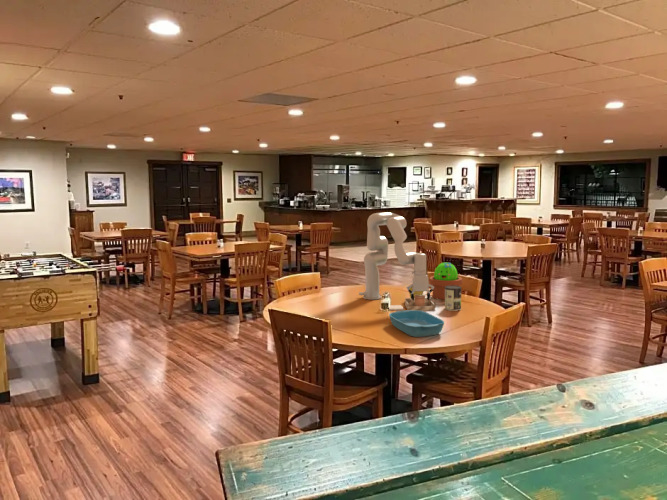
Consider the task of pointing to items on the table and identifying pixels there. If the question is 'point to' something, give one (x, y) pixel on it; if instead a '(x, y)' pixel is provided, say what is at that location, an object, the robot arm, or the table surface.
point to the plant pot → (416, 292)
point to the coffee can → (453, 298)
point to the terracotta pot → (419, 300)
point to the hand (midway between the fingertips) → (420, 299)
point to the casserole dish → (416, 323)
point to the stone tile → (396, 307)
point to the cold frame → (411, 304)
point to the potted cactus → (444, 279)
